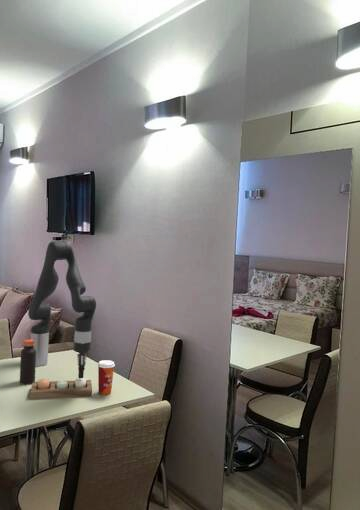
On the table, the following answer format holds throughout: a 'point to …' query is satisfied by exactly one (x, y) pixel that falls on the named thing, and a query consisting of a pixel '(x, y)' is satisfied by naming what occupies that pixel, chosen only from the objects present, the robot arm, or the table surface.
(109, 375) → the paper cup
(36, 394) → the button board
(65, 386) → the sage button
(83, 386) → the cream button
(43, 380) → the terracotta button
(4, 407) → the table surface
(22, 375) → the bottle
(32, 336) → the robot arm
